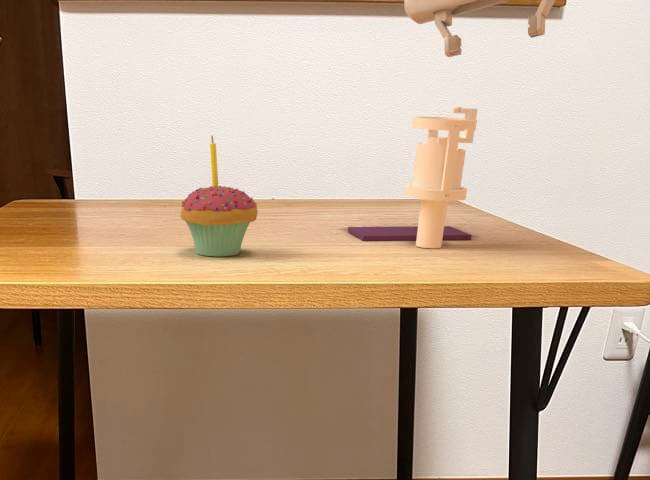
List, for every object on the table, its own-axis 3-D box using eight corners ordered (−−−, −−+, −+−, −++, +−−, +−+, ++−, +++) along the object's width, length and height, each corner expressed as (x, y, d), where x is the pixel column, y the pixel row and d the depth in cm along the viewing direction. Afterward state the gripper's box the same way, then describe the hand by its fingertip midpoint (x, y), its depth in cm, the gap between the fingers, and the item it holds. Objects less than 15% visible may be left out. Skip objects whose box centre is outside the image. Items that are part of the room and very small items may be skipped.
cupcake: (170, 249, 101) (167, 134, 95) (237, 245, 104) (238, 134, 98) (198, 261, 94) (197, 138, 88) (270, 257, 97) (273, 138, 91)
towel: (449, 230, 117) (450, 226, 117) (471, 239, 110) (471, 234, 110) (347, 231, 116) (348, 226, 115) (363, 240, 109) (363, 235, 108)
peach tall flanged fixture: (467, 251, 103) (488, 109, 96) (410, 251, 101) (427, 106, 94) (445, 241, 109) (464, 106, 102) (391, 240, 108) (406, 104, 101)
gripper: (394, -74, 99) (396, 59, 102) (584, -136, 89) (581, 13, 92) (413, -53, 105) (416, 72, 107) (595, -109, 94) (592, 31, 97)
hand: (493, 45), depth 99 cm, fingers open, 8 cm apart
